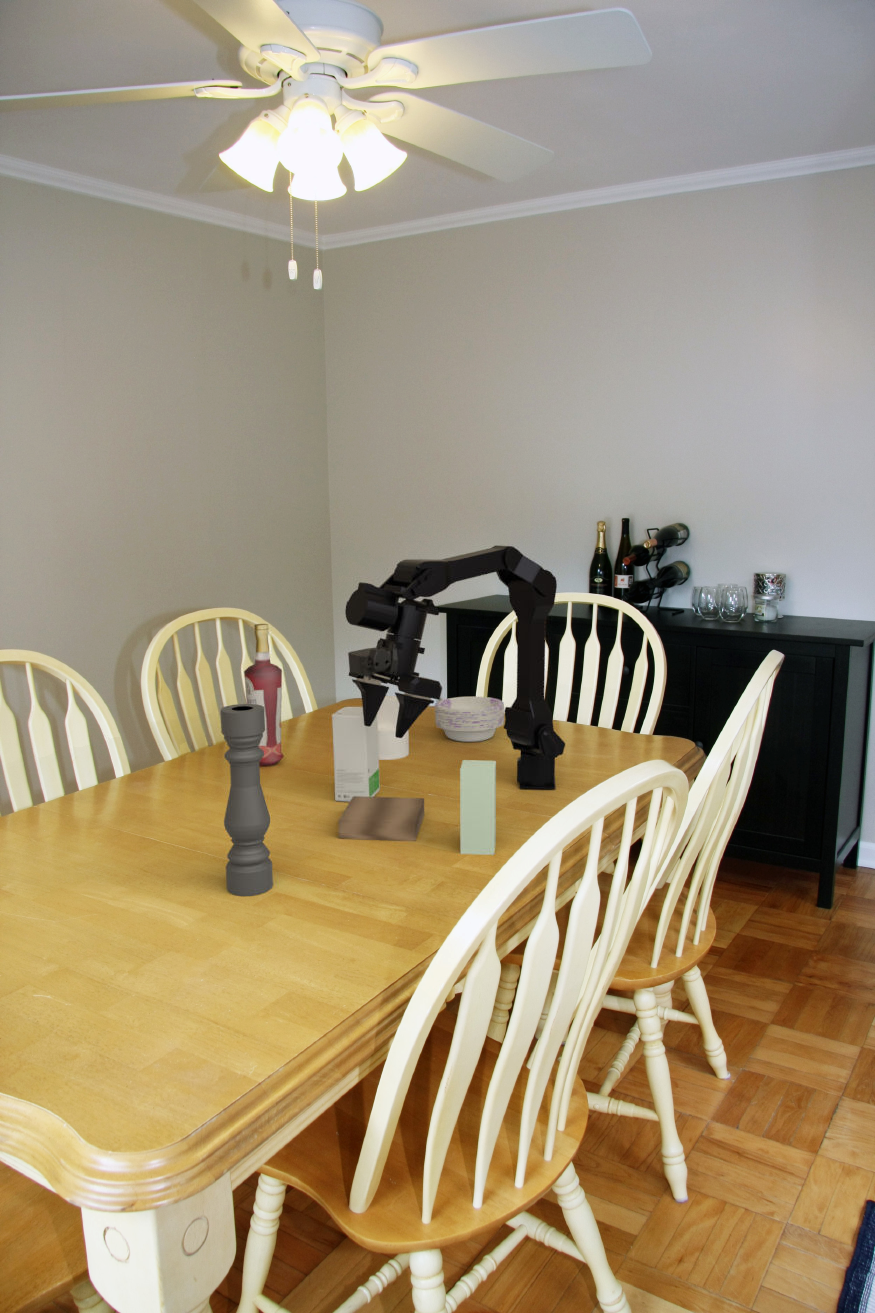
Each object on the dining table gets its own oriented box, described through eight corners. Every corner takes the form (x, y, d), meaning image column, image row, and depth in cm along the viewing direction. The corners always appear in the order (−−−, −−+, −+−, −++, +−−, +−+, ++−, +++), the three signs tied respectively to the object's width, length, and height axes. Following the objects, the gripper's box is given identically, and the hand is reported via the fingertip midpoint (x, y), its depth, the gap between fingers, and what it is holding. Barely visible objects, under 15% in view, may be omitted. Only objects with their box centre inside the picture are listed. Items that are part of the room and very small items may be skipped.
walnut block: (424, 815, 159) (424, 798, 158) (415, 841, 147) (415, 822, 147) (353, 813, 160) (353, 796, 160) (338, 838, 148) (338, 820, 148)
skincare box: (368, 804, 165) (366, 716, 162) (331, 801, 166) (329, 714, 164) (380, 789, 173) (379, 705, 171) (346, 787, 174) (343, 704, 172)
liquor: (291, 764, 190) (286, 625, 185) (257, 770, 186) (251, 628, 181) (275, 756, 196) (270, 621, 191) (242, 762, 192) (236, 624, 187)
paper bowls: (431, 730, 217) (431, 696, 215) (497, 728, 218) (497, 694, 217) (439, 747, 202) (438, 711, 201) (509, 745, 203) (509, 708, 202)
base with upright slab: (417, 751, 198) (416, 695, 196) (392, 762, 191) (391, 703, 189) (382, 746, 203) (381, 691, 201) (356, 755, 196) (355, 698, 194)
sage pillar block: (495, 842, 146) (495, 760, 144) (494, 855, 141) (494, 770, 139) (463, 841, 147) (462, 760, 145) (460, 853, 142) (460, 769, 140)
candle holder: (251, 900, 126) (243, 715, 122) (217, 890, 129) (208, 710, 125) (282, 883, 131) (275, 706, 127) (248, 874, 134) (241, 701, 130)
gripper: (332, 620, 155) (311, 714, 155) (395, 634, 140) (372, 737, 140) (387, 633, 162) (367, 723, 162) (453, 648, 147) (431, 746, 147)
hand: (382, 731), depth 153 cm, fingers open, 9 cm apart
